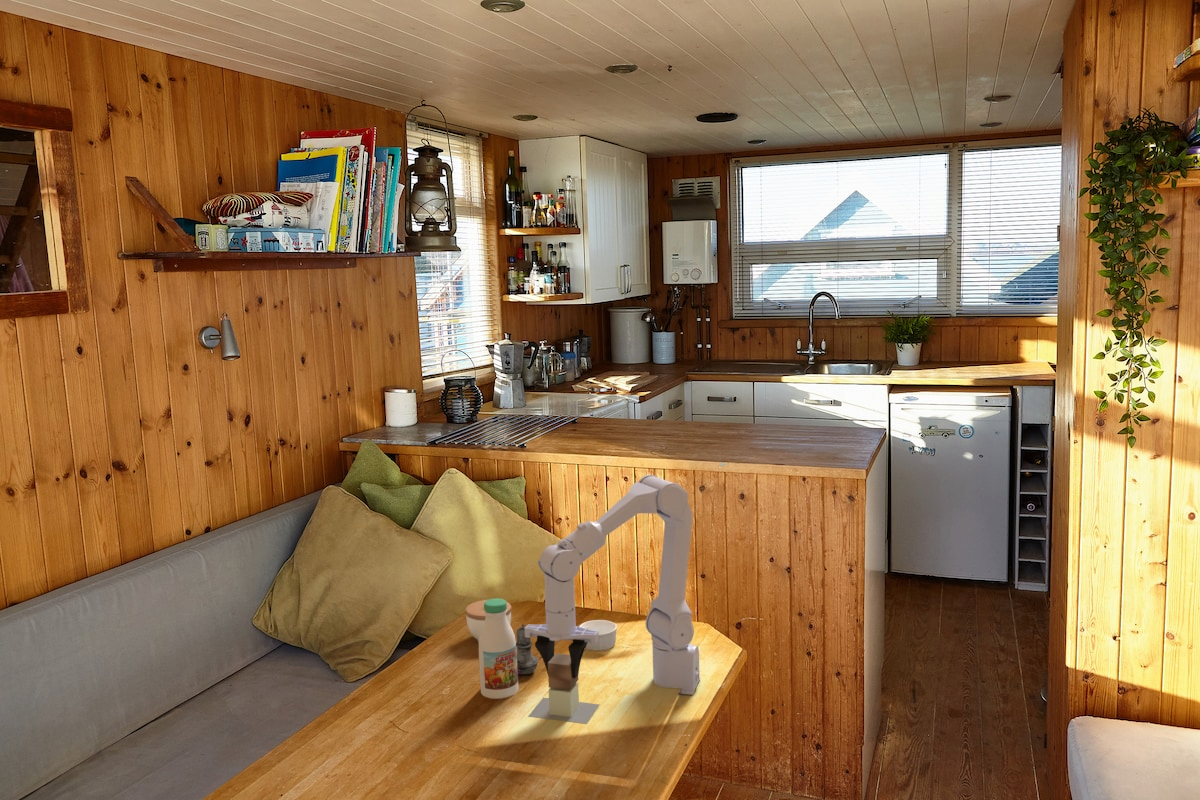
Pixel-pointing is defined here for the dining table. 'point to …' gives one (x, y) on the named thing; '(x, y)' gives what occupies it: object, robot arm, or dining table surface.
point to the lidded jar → (480, 617)
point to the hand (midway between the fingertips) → (562, 674)
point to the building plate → (579, 716)
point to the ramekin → (601, 634)
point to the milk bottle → (497, 653)
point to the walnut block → (561, 672)
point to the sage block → (563, 701)
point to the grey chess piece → (524, 653)
